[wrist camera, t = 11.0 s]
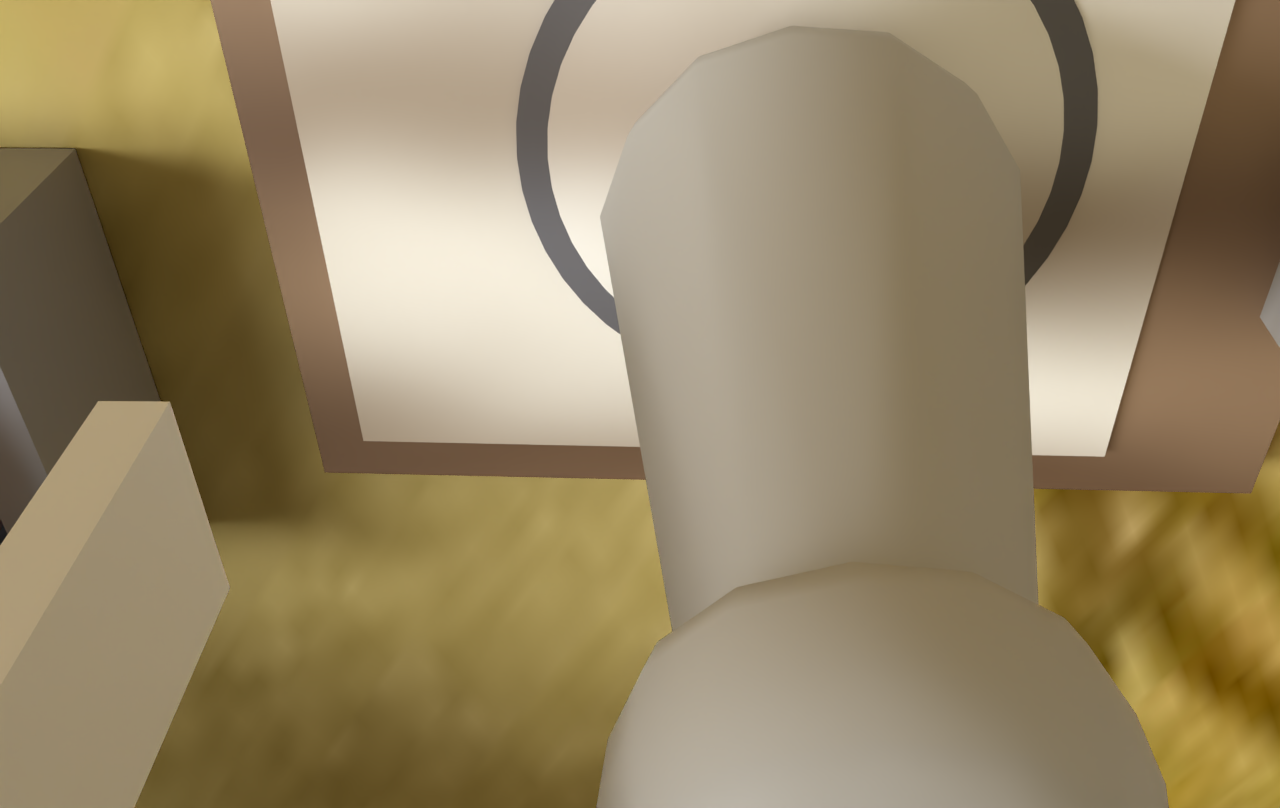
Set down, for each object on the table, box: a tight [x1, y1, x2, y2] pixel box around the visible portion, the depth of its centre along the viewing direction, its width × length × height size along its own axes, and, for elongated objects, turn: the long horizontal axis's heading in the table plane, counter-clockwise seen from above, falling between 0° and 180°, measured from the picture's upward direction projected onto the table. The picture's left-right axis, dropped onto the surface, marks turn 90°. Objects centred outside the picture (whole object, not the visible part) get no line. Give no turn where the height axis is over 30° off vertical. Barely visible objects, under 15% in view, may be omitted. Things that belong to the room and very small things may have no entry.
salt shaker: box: [596, 26, 1169, 808], centre depth 13 cm, size 6×6×13 cm
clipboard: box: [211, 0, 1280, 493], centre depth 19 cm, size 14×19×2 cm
